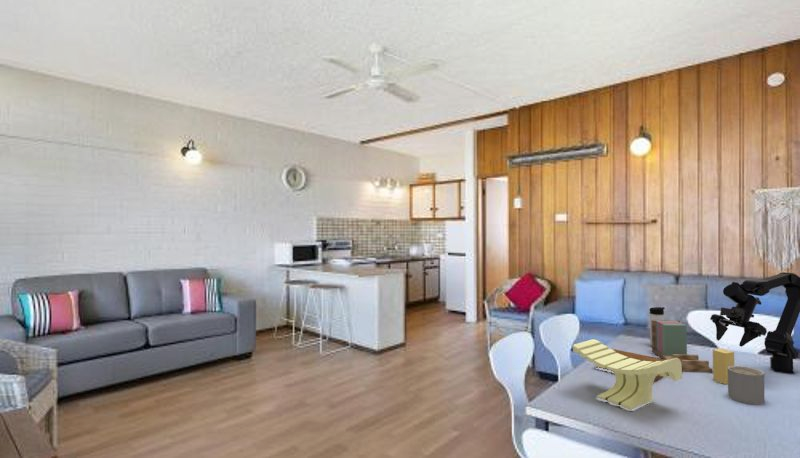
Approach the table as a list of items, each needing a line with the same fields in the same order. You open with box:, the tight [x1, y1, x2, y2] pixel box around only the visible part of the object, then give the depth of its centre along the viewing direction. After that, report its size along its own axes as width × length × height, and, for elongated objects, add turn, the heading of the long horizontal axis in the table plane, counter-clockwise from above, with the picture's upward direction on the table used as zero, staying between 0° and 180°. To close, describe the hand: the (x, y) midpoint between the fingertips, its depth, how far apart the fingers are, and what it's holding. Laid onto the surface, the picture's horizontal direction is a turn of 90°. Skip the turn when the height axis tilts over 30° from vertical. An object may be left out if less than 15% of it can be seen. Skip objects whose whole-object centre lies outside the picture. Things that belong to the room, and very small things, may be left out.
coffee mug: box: [727, 365, 766, 405], centre depth 151 cm, size 13×10×10 cm
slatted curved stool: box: [572, 338, 683, 410], centre depth 151 cm, size 30×16×18 cm, turn 33°
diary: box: [596, 348, 665, 384], centre depth 181 cm, size 23×19×6 cm
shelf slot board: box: [651, 319, 713, 374], centre depth 191 cm, size 12×28×16 cm, turn 171°
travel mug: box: [649, 306, 665, 348], centre depth 214 cm, size 6×7×20 cm
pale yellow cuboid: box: [712, 348, 735, 386], centre depth 166 cm, size 4×5×12 cm
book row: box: [656, 321, 688, 356], centre depth 199 cm, size 9×9×14 cm
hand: (728, 343), depth 170 cm, fingers open, 9 cm apart
